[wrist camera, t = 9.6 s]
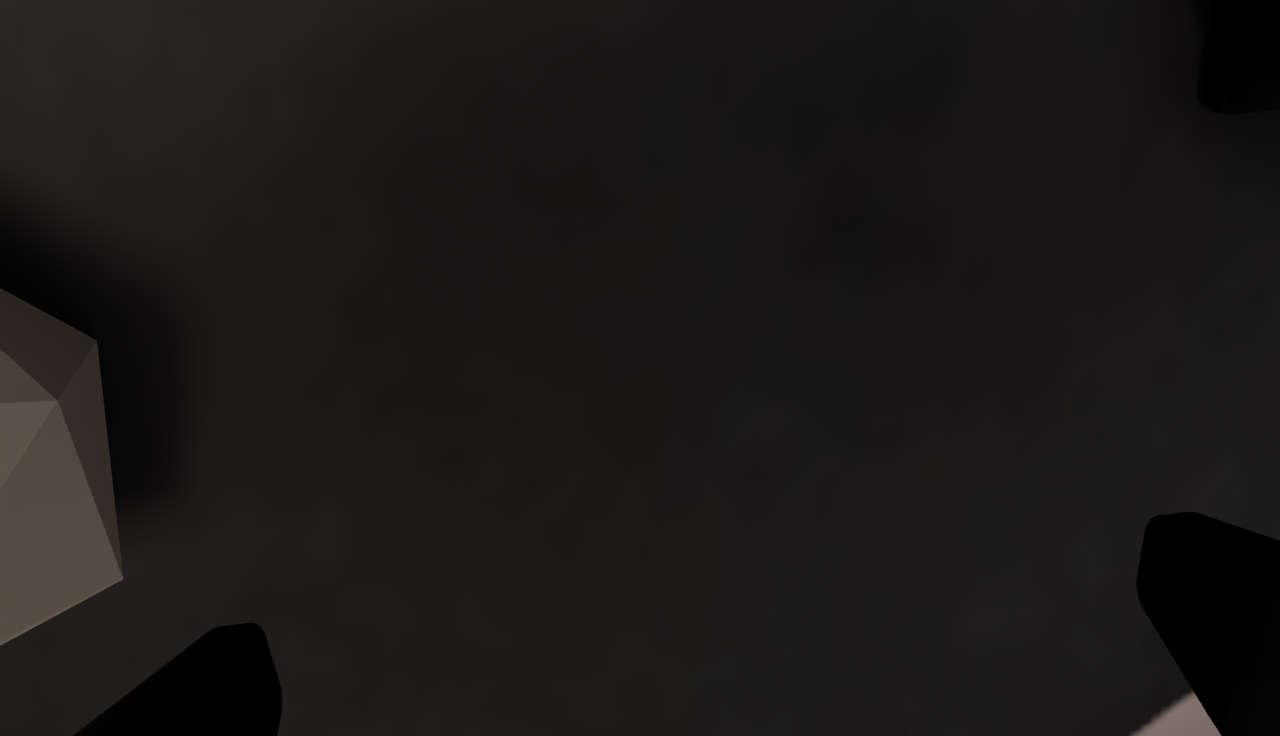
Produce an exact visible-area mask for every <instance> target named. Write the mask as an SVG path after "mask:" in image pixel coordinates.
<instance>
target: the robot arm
mask: <svg viewBox="0 0 1280 736" xmlns="http://www.w3.org/2000/svg"><path fill="white" fill-rule="evenodd" d="M1232 81H1235V86H1236V88H1235V91H1234V94H1233V95H1232V96H1231V97H1230V98H1229V99H1227V98H1226V90H1227V88H1228V86H1229V84H1230V83H1231V82H1232ZM1203 102H1204V104H1205V106H1206V107H1207V108H1208V109H1209V110H1211V111H1212V112H1217V113H1223V114H1233V115H1235V114H1243V113H1251V112H1259V111H1267V110H1275V109H1280V0H1213V7H1212V26H1211V33H1210V40H1209V48H1208V55H1207V62H1206V70H1205V77H1204V85H1203ZM1136 586H1137V594H1138V598H1139V601H1140V603H1141V605H1142V607H1143V609H1144V611H1145V613H1146V614H1147V616H1148V618H1149V619H1150V621H1151V622H1152V624H1153V626H1154V627H1155V629H1156V631H1157V632H1158V634H1159V636H1160V637H1161V639H1162V640H1163V642H1164V644H1165V645H1166V647H1167V649H1168V650H1169V652H1170V654H1171V655H1172V657H1173V658H1174V660H1175V662H1176V663H1177V665H1178V667H1179V668H1180V670H1181V672H1182V673H1183V675H1184V676H1185V678H1186V680H1187V681H1188V683H1189V685H1190V686H1191V688H1192V690H1193V691H1194V693H1195V694H1196V696H1197V698H1198V699H1199V701H1200V703H1201V704H1202V706H1203V708H1204V709H1205V711H1206V712H1207V714H1208V716H1209V717H1210V718H1211V720H1212V722H1213V723H1214V725H1215V726H1216V728H1217V729H1218V731H1219V732H1220V734H1221V735H1222V736H1280V541H1279V540H1276V539H1273V538H1270V537H1267V536H1264V535H1261V534H1258V533H1255V532H1252V531H1249V530H1246V529H1243V528H1240V527H1237V526H1235V525H1232V524H1229V523H1226V522H1223V521H1220V520H1217V519H1214V518H1211V517H1208V516H1205V515H1202V514H1199V513H1195V512H1182V513H1174V514H1166V515H1158V516H1155V517H1154V518H1152V519H1151V520H1150V521H1149V522H1148V524H1147V525H1146V529H1145V533H1144V539H1143V545H1142V551H1141V557H1140V562H1139V568H1138V574H1137V581H1136ZM281 713H282V691H281V686H280V683H279V679H278V676H277V672H276V669H275V666H274V662H273V659H272V656H271V652H270V649H269V645H268V642H267V639H266V636H265V633H264V631H263V630H262V628H261V627H260V626H259V625H257V624H255V623H244V624H236V625H227V626H219V627H216V628H213V629H211V630H210V631H209V632H207V633H206V634H205V635H203V636H202V637H201V638H199V639H198V640H197V641H195V642H194V643H193V644H191V645H190V646H189V647H187V648H186V649H185V650H183V651H182V652H181V653H179V654H178V655H177V656H175V657H174V658H173V659H172V660H170V661H169V662H168V663H166V664H165V665H164V666H162V667H161V668H160V669H158V670H157V671H156V672H154V673H153V674H152V675H150V676H149V677H148V678H146V679H145V680H144V681H143V682H141V683H140V684H139V685H137V686H136V687H135V688H133V689H132V690H131V691H129V692H128V693H127V694H125V695H124V696H123V697H121V698H120V699H119V700H117V701H116V702H115V703H113V704H112V705H111V706H110V707H108V708H107V709H106V710H104V711H103V712H102V713H100V714H99V715H98V716H96V717H95V718H94V719H92V720H91V721H90V722H88V723H87V724H86V725H84V726H83V727H82V728H80V729H79V730H78V731H77V732H75V733H74V734H73V735H71V736H277V734H278V729H279V724H280V718H281Z"/></svg>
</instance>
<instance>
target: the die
mask: <svg viewBox="0 0 1280 736" xmlns="http://www.w3.org/2000/svg"><path fill="white" fill-rule="evenodd" d="M121 580H123V572H122V563H121V554H120V545H119V536H118V527H117V518H116V509H115V500H114V491H113V482H112V473H111V464H110V455H109V446H108V436H107V427H106V418H105V409H104V400H103V391H102V382H101V373H100V364H99V355H98V346H97V340H95V339H93V338H91V337H90V336H88V335H86V334H84V333H82V332H80V331H79V330H77V329H75V328H73V327H71V326H69V325H67V324H66V323H64V322H62V321H60V320H58V319H56V318H54V317H53V316H51V315H49V314H47V313H45V312H43V311H42V310H40V309H38V308H36V307H34V306H32V305H30V304H29V303H27V302H25V301H23V300H21V299H19V298H17V297H16V296H14V295H12V294H10V293H8V292H6V291H5V290H3V289H1V288H0V645H2V644H4V643H6V642H8V641H10V640H11V639H13V638H15V637H17V636H19V635H21V634H22V633H24V632H26V631H28V630H30V629H32V628H34V627H35V626H37V625H39V624H41V623H43V622H45V621H47V620H48V619H50V618H52V617H54V616H56V615H58V614H60V613H61V612H63V611H65V610H67V609H69V608H71V607H72V606H74V605H76V604H78V603H80V602H82V601H84V600H85V599H87V598H89V597H91V596H93V595H95V594H97V593H98V592H100V591H102V590H104V589H106V588H108V587H110V586H111V585H113V584H115V583H117V582H119V581H121Z"/></svg>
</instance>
